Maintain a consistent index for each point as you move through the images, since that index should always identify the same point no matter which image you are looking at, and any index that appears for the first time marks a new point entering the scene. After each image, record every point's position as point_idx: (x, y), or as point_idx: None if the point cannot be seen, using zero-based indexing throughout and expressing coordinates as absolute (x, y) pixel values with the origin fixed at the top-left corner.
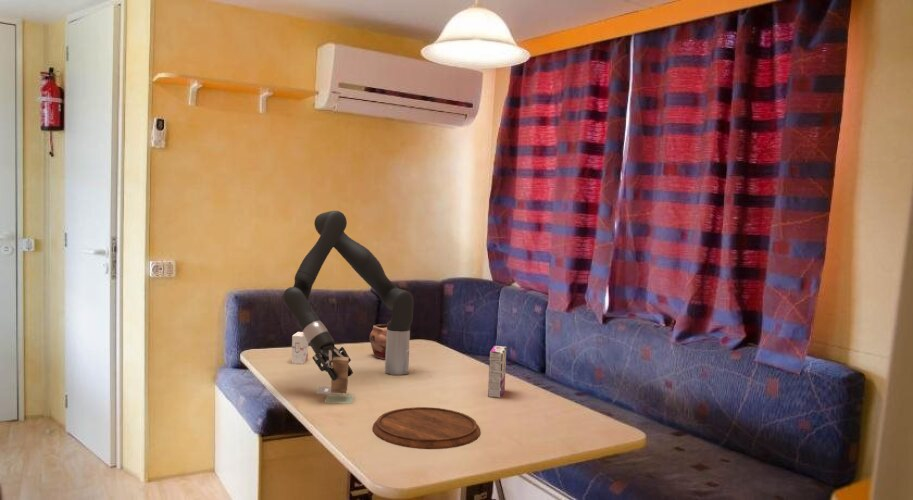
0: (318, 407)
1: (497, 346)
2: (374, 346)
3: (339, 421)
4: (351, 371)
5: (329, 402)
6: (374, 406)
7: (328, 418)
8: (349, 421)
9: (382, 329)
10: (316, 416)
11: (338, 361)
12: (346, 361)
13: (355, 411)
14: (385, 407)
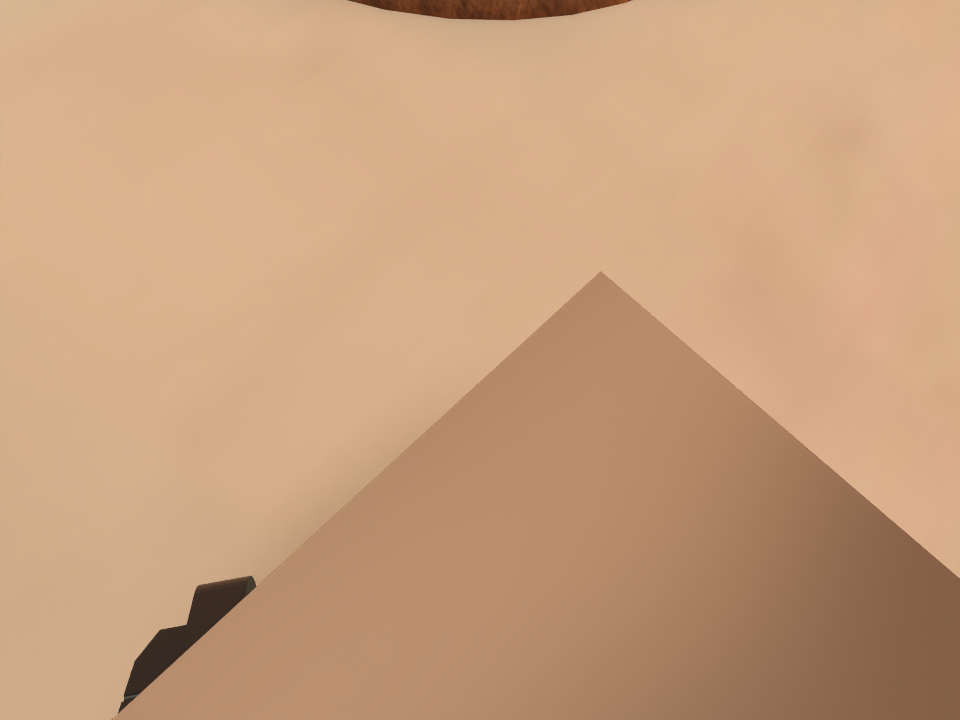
0: None
1: None
2: None
3: (829, 176)
4: (229, 595)
5: None
6: (326, 245)
7: (873, 279)
8: (763, 131)
9: None
10: (944, 383)
11: (850, 522)
12: (625, 314)
13: (574, 259)
14: (274, 163)
